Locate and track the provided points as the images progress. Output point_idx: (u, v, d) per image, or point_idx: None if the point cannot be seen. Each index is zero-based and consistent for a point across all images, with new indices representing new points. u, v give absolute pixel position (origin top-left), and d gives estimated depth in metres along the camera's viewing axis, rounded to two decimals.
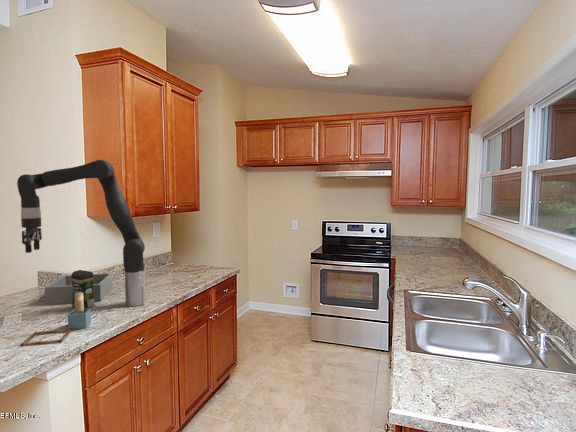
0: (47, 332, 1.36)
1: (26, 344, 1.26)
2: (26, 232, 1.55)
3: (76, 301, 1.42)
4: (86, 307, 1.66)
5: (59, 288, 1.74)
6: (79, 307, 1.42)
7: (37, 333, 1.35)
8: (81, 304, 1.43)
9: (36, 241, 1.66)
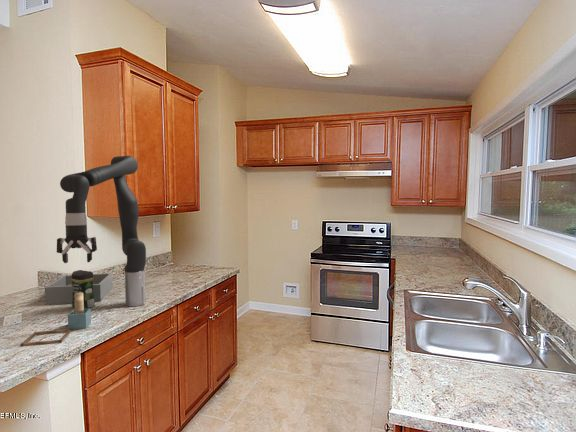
0: (47, 332, 1.36)
1: (26, 344, 1.26)
2: (95, 238, 1.44)
3: (76, 301, 1.42)
4: (86, 307, 1.66)
5: (59, 288, 1.74)
6: (79, 307, 1.42)
7: (37, 333, 1.35)
8: (81, 304, 1.43)
9: (66, 253, 1.41)
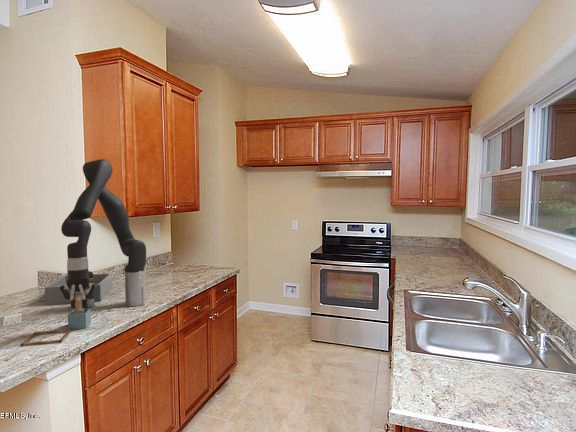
0: (47, 332, 1.36)
1: (26, 344, 1.26)
2: None
3: (76, 301, 1.42)
4: (86, 307, 1.66)
5: (59, 288, 1.74)
6: (79, 307, 1.42)
7: (37, 333, 1.35)
8: (81, 304, 1.43)
9: (74, 298, 1.43)
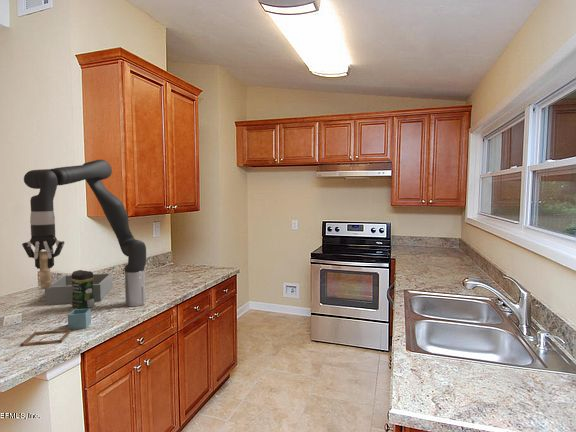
0: (47, 332, 1.36)
1: (26, 344, 1.26)
2: (63, 243, 1.32)
3: (41, 259, 1.28)
4: (86, 307, 1.66)
5: (59, 288, 1.74)
6: (44, 267, 1.29)
7: (37, 333, 1.35)
8: (47, 263, 1.29)
9: None
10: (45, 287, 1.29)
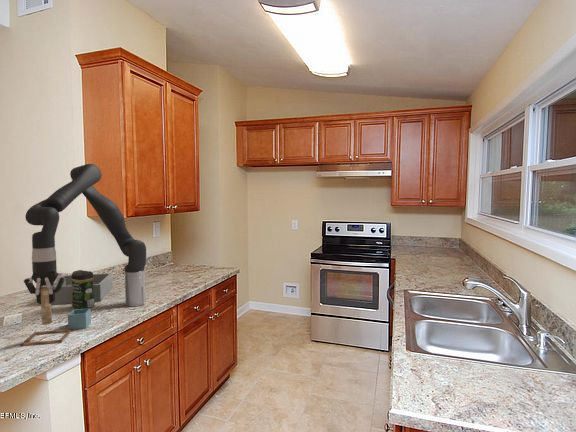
0: (47, 332, 1.36)
1: (26, 344, 1.26)
2: (64, 279, 1.33)
3: (42, 295, 1.29)
4: (86, 307, 1.66)
5: None
6: (46, 303, 1.30)
7: (37, 333, 1.35)
8: (48, 299, 1.30)
9: None
10: (46, 323, 1.30)
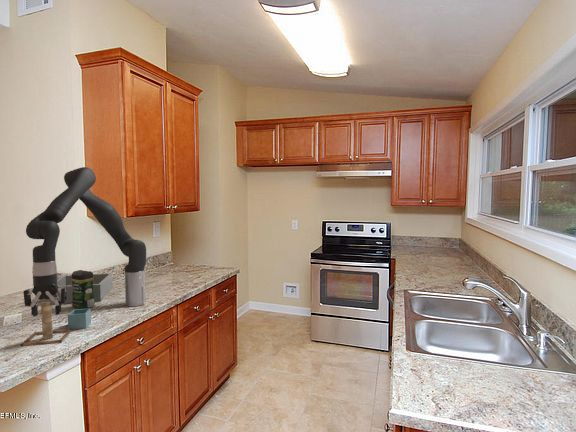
0: None
1: (26, 344, 1.26)
2: (66, 289, 1.33)
3: (43, 311, 1.30)
4: (86, 307, 1.66)
5: None
6: (46, 318, 1.30)
7: (37, 333, 1.35)
8: (49, 315, 1.31)
9: (36, 305, 1.30)
10: (47, 338, 1.31)
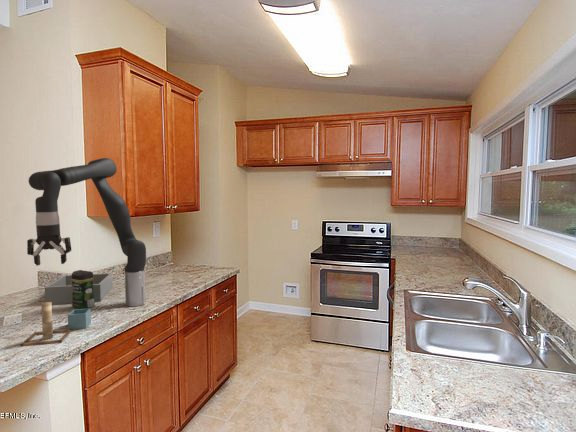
0: None
1: (26, 344, 1.26)
2: (69, 238, 1.36)
3: (43, 311, 1.30)
4: (86, 307, 1.66)
5: (59, 288, 1.74)
6: (47, 318, 1.30)
7: (37, 333, 1.35)
8: (49, 315, 1.31)
9: (38, 254, 1.33)
10: (47, 338, 1.31)
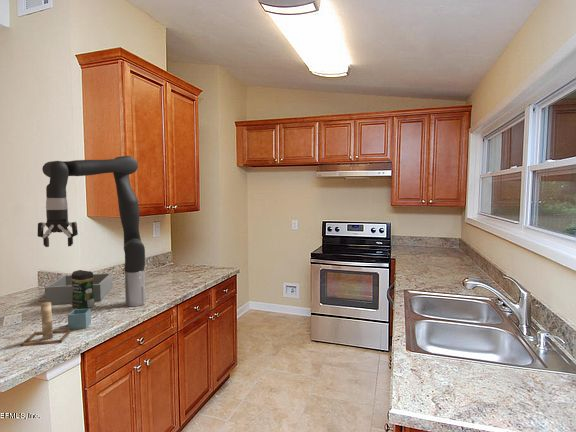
0: None
1: (26, 344, 1.26)
2: (76, 223, 1.47)
3: (43, 311, 1.30)
4: (86, 307, 1.66)
5: (59, 288, 1.74)
6: (46, 318, 1.30)
7: (37, 333, 1.35)
8: (48, 315, 1.31)
9: (47, 237, 1.44)
10: (47, 338, 1.31)
